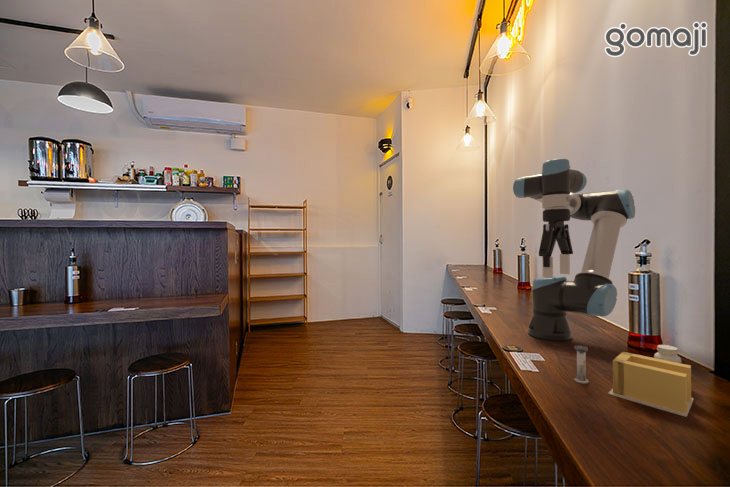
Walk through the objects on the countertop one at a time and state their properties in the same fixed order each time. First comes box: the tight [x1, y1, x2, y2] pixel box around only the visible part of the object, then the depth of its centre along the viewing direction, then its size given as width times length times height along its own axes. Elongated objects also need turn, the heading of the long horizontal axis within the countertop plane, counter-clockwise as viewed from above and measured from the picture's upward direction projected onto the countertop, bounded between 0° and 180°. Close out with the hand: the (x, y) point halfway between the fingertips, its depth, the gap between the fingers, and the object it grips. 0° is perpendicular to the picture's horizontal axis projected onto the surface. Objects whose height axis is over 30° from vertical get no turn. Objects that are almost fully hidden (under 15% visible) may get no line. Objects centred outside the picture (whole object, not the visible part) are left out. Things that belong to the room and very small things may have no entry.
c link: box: [612, 351, 692, 413], centre depth 80 cm, size 13×9×8 cm
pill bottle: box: [653, 344, 682, 364], centre depth 87 cm, size 5×5×10 cm
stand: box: [574, 344, 589, 385], centre depth 89 cm, size 3×3×10 cm
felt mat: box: [607, 387, 694, 418], centre depth 80 cm, size 11×14×1 cm
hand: (556, 275), depth 104 cm, fingers open, 13 cm apart
